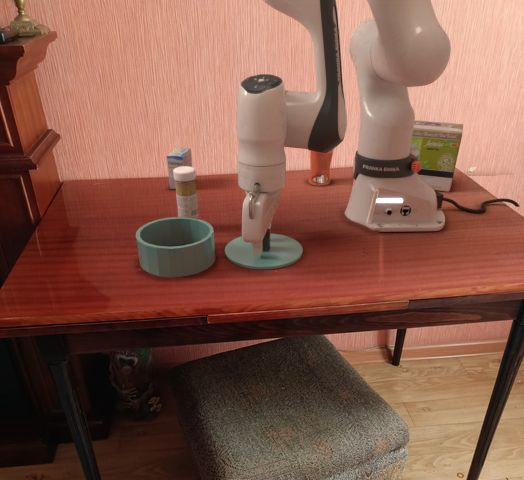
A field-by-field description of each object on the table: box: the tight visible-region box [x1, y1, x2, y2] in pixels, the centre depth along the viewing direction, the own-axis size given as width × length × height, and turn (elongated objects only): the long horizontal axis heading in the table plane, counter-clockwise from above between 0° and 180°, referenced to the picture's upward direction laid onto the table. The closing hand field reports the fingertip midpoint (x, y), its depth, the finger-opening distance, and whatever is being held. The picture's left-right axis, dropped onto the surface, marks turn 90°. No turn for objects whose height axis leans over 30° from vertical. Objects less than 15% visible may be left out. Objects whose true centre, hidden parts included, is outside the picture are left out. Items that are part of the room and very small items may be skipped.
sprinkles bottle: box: [173, 166, 200, 219], centre depth 111 cm, size 5×5×14 cm
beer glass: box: [307, 148, 335, 187], centre depth 136 cm, size 7×7×15 cm
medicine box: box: [166, 147, 193, 190], centre depth 137 cm, size 8×4×9 cm, turn 172°
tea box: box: [410, 119, 464, 193], centre depth 135 cm, size 15×10×15 cm
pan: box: [135, 216, 217, 278], centre depth 101 cm, size 15×15×6 cm
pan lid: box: [224, 229, 304, 271], centre depth 104 cm, size 16×16×5 cm
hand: (262, 245), depth 104 cm, fingers open, 7 cm apart
